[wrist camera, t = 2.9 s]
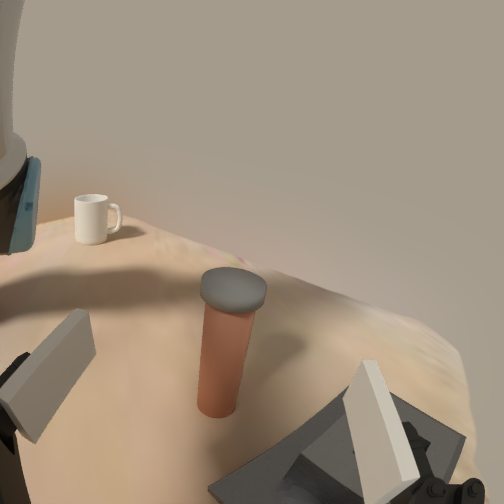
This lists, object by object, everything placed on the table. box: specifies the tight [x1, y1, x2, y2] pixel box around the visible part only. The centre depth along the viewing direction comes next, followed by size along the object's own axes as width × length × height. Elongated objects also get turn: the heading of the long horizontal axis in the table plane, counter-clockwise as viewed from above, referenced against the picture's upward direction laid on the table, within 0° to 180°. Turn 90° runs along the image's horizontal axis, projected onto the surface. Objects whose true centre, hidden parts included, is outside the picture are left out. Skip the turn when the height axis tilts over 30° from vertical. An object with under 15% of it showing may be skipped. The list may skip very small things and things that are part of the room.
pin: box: [197, 267, 267, 418], centre depth 24 cm, size 5×5×15 cm
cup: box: [75, 194, 122, 245], centre depth 60 cm, size 8×12×10 cm
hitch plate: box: [208, 386, 466, 504], centre depth 18 cm, size 24×18×6 cm
